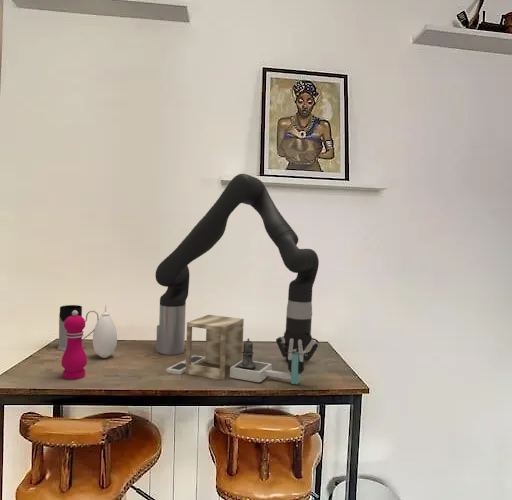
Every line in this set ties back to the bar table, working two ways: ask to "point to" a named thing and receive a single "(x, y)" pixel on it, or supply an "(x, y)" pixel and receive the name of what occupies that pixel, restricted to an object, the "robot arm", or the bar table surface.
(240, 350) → the tunnel
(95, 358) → the bar table surface
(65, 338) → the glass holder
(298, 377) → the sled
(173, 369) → the pit trap board
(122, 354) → the bar table surface
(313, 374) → the bar table surface
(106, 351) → the sauce bottle
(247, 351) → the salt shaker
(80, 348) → the pepper mill
